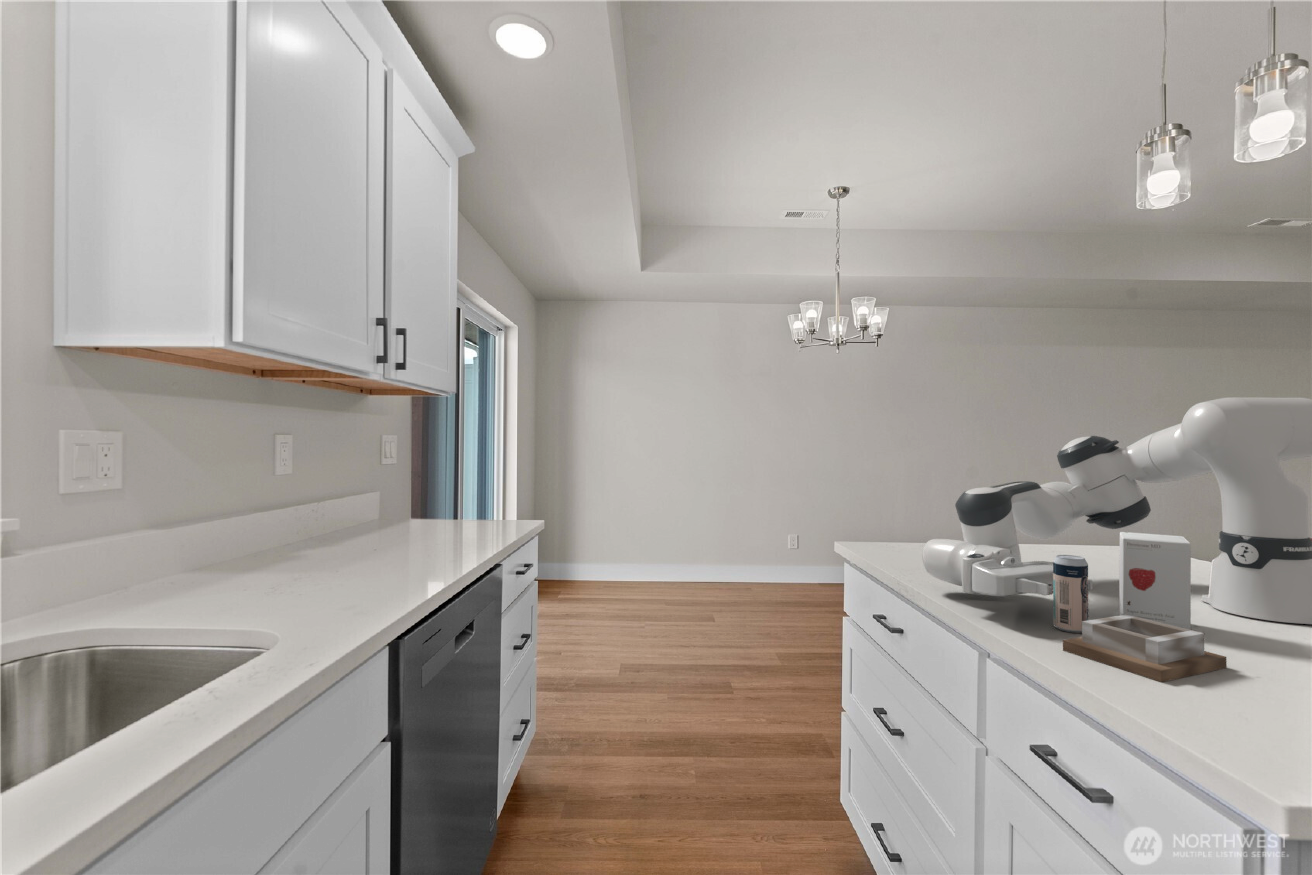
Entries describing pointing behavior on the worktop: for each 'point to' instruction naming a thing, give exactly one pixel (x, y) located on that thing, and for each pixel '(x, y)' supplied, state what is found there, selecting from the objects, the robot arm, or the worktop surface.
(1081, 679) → the worktop surface
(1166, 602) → the supplement box
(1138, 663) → the socket base
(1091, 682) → the worktop surface
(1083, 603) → the beer can
